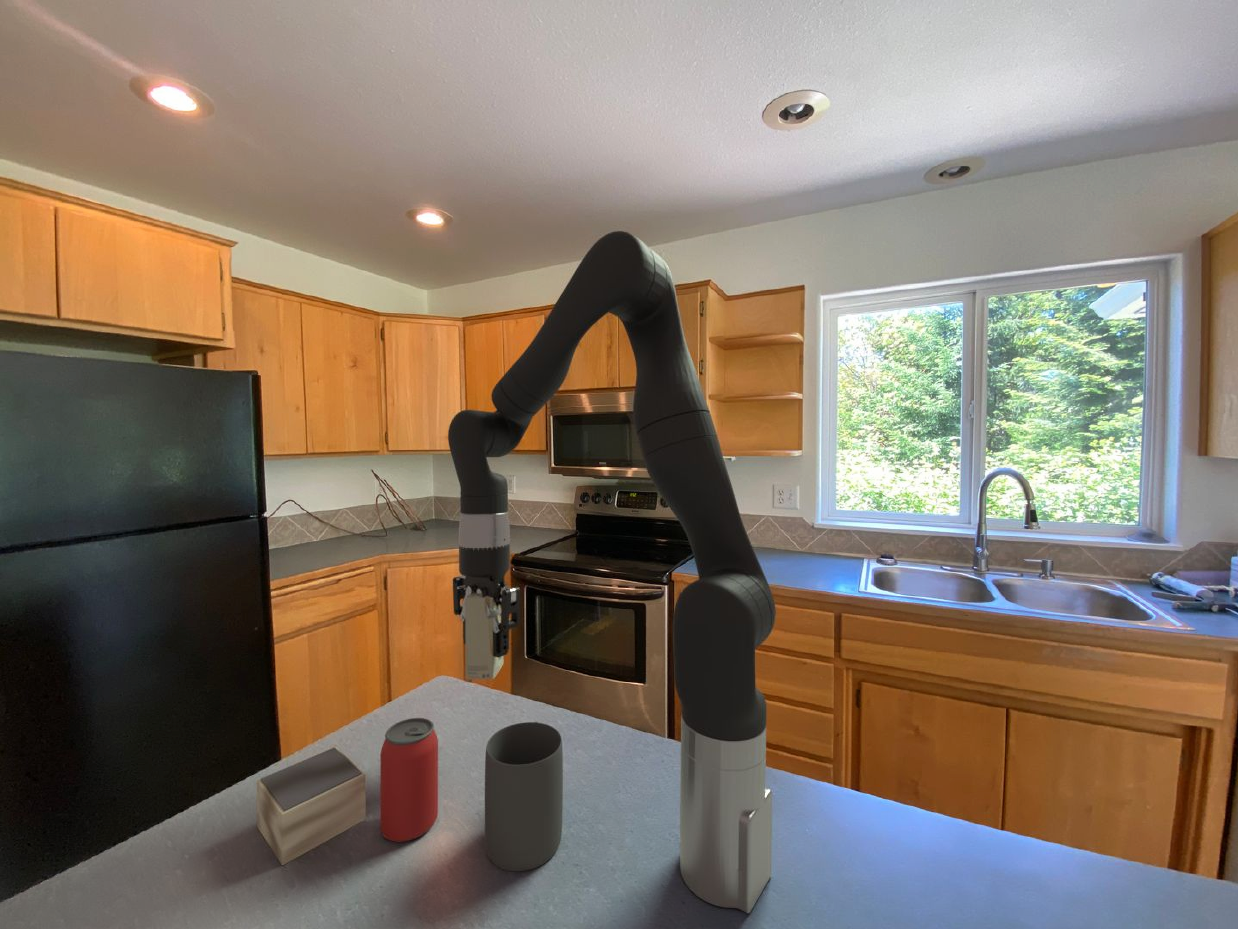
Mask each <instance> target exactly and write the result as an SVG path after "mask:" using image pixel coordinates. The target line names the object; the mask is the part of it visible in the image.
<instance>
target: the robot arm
mask: <svg viewBox="0 0 1238 929" xmlns="http://www.w3.org/2000/svg"><path fill="white" fill-rule="evenodd" d="M578 264H579V265H578V266H577V267H576V269H575V271H574V273H573V274H572V276H571V277H570V279H569V281H568V282H567V285H566V286H565V288H564V289H563V290H562V292H561V294H560V295H559V297H558V298H557V301H556V302H555V304H554V306H553V307H552V309H551V311H550V312H549V314H548V316H547V317H546V319H545V320H544V322H543V324H542V326H540V329H539V330H538V332H537V333H536V335H535V337H534V338H533V339H532V341H531V342H530V343H529V345H528V346H527V348H526V349H525V350H524V352H523V353H522V354H521V355H520V356H519V357H518V358H517V360H516V361H515V362H514V363H513V364H512V365H511V366H510V368H509V369H508V370H507V371H506V372H505V374H503V376H502V377H501V378H500V379H499V381H498V382H497V383H496V384H495V385H494V387H493V389H492V391H491V396H490V397H491V402H492V404H493V406H494V408H495V409H496V410H495V411H493V412H492V411H484V410H476V409H464V410H461V411H459V412H458V413H456V414H455V415H454V417H452V419H451V422H450V424H449V426H448V432H447V433H448V434H447V441H448V446H449V451H450V455H451V458H452V461H453V465H454V468H455V469H454V470H455V473H456V476H457V479H458V483H459V486H460V492H459V494H460V498H459V499H460V500H459V502H460V509H459V510H460V516H459V525H458V571H459V573H460V575H459V576H456V577H453V578H452V599H453V602H452V603H453V604H452V605H453V613H454V615H455V616H459V619H460V621H461V622H462V629H463V630H462V631H463V634H462V638H463V645H465V646H466V643H465V641H466V638H465V635H466V634H465V598H466V597H467V596H468V595H469V594H472V593H477V596H481V597H482V598H485V597H486V596H489V597H493V599H494V602H495V603H496V605H497V607H498V606H499V605H500V609H497V610H493V609H492V608H491V607H490V606H489V605H488V603H487V602H486V609H487V611H486V615H487V618H492V627H493V630H494V632H493V655H494V656H495V657H497V658H499V657H501V656H506V655H507V654H508V653H509V650H510V630H512V629H514V628H518V627H520V619H521V618H520V617H521V616H520V610H521V608H520V607H521V589H520V587H519V586H514V587H509V586H507V584H506V578H505V576H506V575H507V573H508V572H509V571H510V569H511V545H510V544H511V541H510V540H511V539H510V538H511V532H510V529H511V528H510V520H509V495H508V494H509V488H508V487H509V486H508V479H507V478H506V477H505V476H504V475H503V474H500V473H497V472H494V471H492V469H491V468H490V465H489V463H488V459H487V458H502V457H504V456H507V455H508V454H510V453H511V452H513V451H514V450H515V449H516V448H517V447H518V445H520V442H521V441H522V439H523V438H524V435H525V433H526V431H527V430H528V428H529V426H530V424H531V422H532V420H533V418H534V417H535V415H536V414H537V413H538V412H540V410H542V408H543V407H544V406H545V405H546V404H547V403H548V402H549V401H550V400H551V399H552V398H553V397H554V396H555V395H556V394H557V392H558V391H559V390H560V388H561V387H562V385H563V384H564V382H565V380H566V377H567V376H568V373H569V370H570V367H571V364H572V361H573V357H574V355H575V352H576V350H577V348H578V346H579V344H580V342H581V340H582V339H583V338H584V336H585V335H586V334H587V332H588V331H589V330H590V329H591V328H592V327H593V326H594V325H595V324H596V323H598V321H599V320H600V319H602V318H603V317H604V316H606V315H607V314H608V313H609V314H611V315H613V316H615V317H617V318H618V319H619V320H620V321H621V323H622V325H623V327H624V330H625V331H626V335H627V338H628V340H629V343H630V346H631V350H632V353H633V356H634V361H635V368H636V369H635V370H636V378H635V385H634V387H635V388H634V396H633V403H632V404H633V405H632V420H633V426H634V429H635V434H636V439H637V441H638V445H639V449H640V453H641V456H642V459H643V463H644V465H645V468H646V471H647V473H648V476H649V477H650V480H651V482H652V483H653V485H654V487H655V488H656V490H657V491H658V493H659V495H660V496H661V497H662V499H663V500H664V502H665V503H666V504H667V506H668V507H669V508H670V510H671V511H672V513H673V515H674V516H675V517H676V519H677V520H678V521H679V524H680V525H681V527H682V529H683V530H684V532H685V535H686V537H687V539H688V541H689V545H690V548H691V551H692V555H693V559H694V561H695V566H696V570H697V577H698V579H697V580H694V581H693V582H690V583H689V584H688V585H687V586H685V588H683V589H682V591H681V592H680V593H679V595H678V597H677V600H676V602H675V606H674V612H673V619H672V646H673V647H672V648H673V651H672V652H673V673H674V674H673V676H674V686H675V690H676V694H677V697H678V699H679V701H680V708H681V713H680V714H681V715H680V718H681V719H680V720H681V721H680V793H679V796H680V800H679V803H680V804H679V839H680V840H679V869H680V875H681V877H682V879H683V881H684V884H686V886H687V887H688V889H689V890H690V892H691V891H692V893H693V894H695V896H696V897H698V898H700V899H702V900H703V901H704V902H706V903H709V904H711V905H713V906H716V907H721V908H731V909H733V908H735V909H739V910H740V911H743V912H744V913H746V914H750V913H751V911H752V909H753V907H754V906H755V904H756V903H757V901H758V899H759V898H760V895H761V894H762V893H763V891H764V889H765V888H766V885H767V884H768V882H769V880H770V879H771V877H772V859H773V858H772V853H773V851H772V849H773V848H772V845H773V791H772V790H771V789H770V788H768V787H766V781H767V780H766V773H767V771H766V770H767V769H766V768H767V766H766V765H767V761H766V760H767V711H768V710H767V701H766V698H765V696H764V694H763V693H762V692H761V691H760V690H759V689H758V687H757V686H756V649H757V648H758V647H759V646H761V644H763V643H764V642H765V641H766V640H767V639H768V637H769V636H770V635H771V633H772V631H773V629H774V626H775V623H776V614H777V612H776V609H777V608H776V603H775V599H774V596H773V592H772V589H771V587H770V585H769V582H768V579H767V577H766V576H765V573H764V571H763V568H762V567H761V564H760V562H759V558H758V557H757V554H756V553H755V550H754V547H753V545H752V542H751V540H750V539H749V535H748V533H747V530H746V528H745V525H744V522H743V520H742V516H741V514H740V513H741V512H740V511H739V510H740V509H739V507H738V503H737V499H736V494H735V492H734V489H733V485H732V481H731V479H730V476H729V472H728V470H727V469H728V468H727V466H726V462H725V459H724V455H723V451H722V447H721V444H720V441H719V440H720V439H719V437H718V433H717V431H716V427H715V424H714V421H713V418H712V414H711V411H710V409H709V408H710V407H709V405H708V403H707V399H706V398H705V395H704V392H703V388H702V384H701V383H700V378H699V376H698V373H697V369H696V366H695V364H694V362H693V359H692V356H691V354H690V350H689V348H688V344H687V340H686V337H685V333H684V329H683V324H682V320H681V314H680V308H679V303H678V297H677V293H676V292H677V291H676V286H675V282H674V277H673V274H672V272H671V269H670V268H669V266H668V264H667V263H666V261H665V260H664V259H663V258H662V256H660V254H658V253H657V252H655V251H654V250H653V249H652V248H650V247H649V246H648V245H647V244H646V243H645V242H643V241H642V240H641V239H640V238H638V237H637V236H635V235H634V234H632V233H630V232H629V231H623V230H616V231H612V232H608V233H606V234H605V235H604V236H602V237H600V238H598V240H597V241H595V242H594V243H593V245H592V246H591V248H590V249H589V250H588V251H587V252H586V254H585V255H584V256H583V258H582V260H581V261H580V263H578ZM462 599H463V601H462V604H461V600H462ZM510 615H511V619H510ZM497 616H501V623H499V621H498V618H497Z"/></svg>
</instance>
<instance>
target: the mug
mask: <svg viewBox="0 0 1238 929" xmlns="http://www.w3.org/2000/svg"><path fill="white" fill-rule="evenodd" d="M563 755H564V754H563V740H562V736H561V733H560V732H559V731H558V730H557V729H556V728H555V727H553V726H551V725H549V724H546V723H541V722H538V721H534V722H533V721H527V722H525V721H524V722H518V723H514V724H510V725H507V726H505V727H503V728H501V729H499V730H498V731H496V732H495V733H493V735H491V737H489V739H488V741H487V744H486V748H485V759H484V760H485V762H484V770H485V771H484V838H485V840H484V841H485V850H486V854H487V856H488V858H489V860H490V862H492V863H493V864H494V865H495V866H497V867H498V868H500V869H502V870H505V871H509V872H524V871H525V872H526V871H529V870H533V869H535V868H538V867H540V866H542V865H543V864H545V863H546V862H548V861H549V860H550V859H551V858H553V856H554V855H555V854H556V853H557V851H558V849H559V846H560V844H561V840H562V832H563V810H564V809H563V807H564V806H563V805H564V804H563V802H564V801H563V798H564V796H563V795H564V794H563V793H564V791H563V790H564V780H563V779H564V775H563V774H564V773H563V772H564V766H563V763H564V762H563V761H564V760H563V759H564V757H563Z"/></svg>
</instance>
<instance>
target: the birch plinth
mask: <svg viewBox="0 0 1238 929" xmlns="http://www.w3.org/2000/svg"><path fill="white" fill-rule="evenodd" d="M256 821H257V822H256V825H257V826H256V827H257V829H258V830H259V832H260V833H261V835H262V837H263V838H264V839H265V841H266V842H267V844H268V846H269V847H270V849H271V850H272V852H273V854H274V855H275V857H276V858H277V860H278V861H279V863H280V864H281V866H284V865H287V864H288V863H290V862H292V861H294V860H295V859H297V858H298V857H300V856H302V855H304V854H306V853H308V852H310V851H311V850H314V849H315V848H317V847H318V846H320V845H323V844H325V843H326V842H327V841H329V840H331V839H333V838H335V837H336V836H338V835H340V834H342V833H343V832H345V831H348V830H349V829H350V828H352V827H355V826H357V825H358V824H359V823H361V822H363V821H366V773H365V772H364V771H363V770H362V769H361V768H359V767H358V765H357V764H355V763H354V762H353V761H352V760H351V759H350V758H349V757H347V755H345V753H343V752H342V751H341V750H340V749H339V748H338V747H337V746H334V747H331V748H329V749H328V750H327V749H326V750H324V751H323V752H321V753H320V752H319V753H318V754H316V755H313V756H311V757H308V758H306V759H304V760H301V761H299V762H296V763H294V764H293V765H292V764H291V765H290V766H288V767H285V768H283V769H280V770H278V771H276V772H273V773H271V774H269V775H266V776H264V777H263V776H262V777H261V778H259V779H257V780H256Z"/></svg>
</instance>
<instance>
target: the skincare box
mask: <svg viewBox="0 0 1238 929" xmlns="http://www.w3.org/2000/svg"><path fill="white" fill-rule="evenodd" d="M486 602H487V603H488V605H489V606H490V607H491V608H492V609H493V610H497V609H500V605H499V606H498V607H497V605H496V603H495V602H494V599H493V597H489V596H486V597H485V598H482V597H481V596H477V593H472V594H469V595H468V596H467V597H466V598H465V634H466V635H465V638H466V641H465V643H466V645H465V680H494V679H495V678H496V676H497V675H498V673H500V670H501V669H502V667H503V666H504V664H505V663H504V656H505V655H504V656H501V657H499V658H497V657H495V656H494V655H493V632H494V630H493V627H492V618H487V615H486V611H487V609H486ZM497 618H498V621H499V623H501V616H497Z"/></svg>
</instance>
